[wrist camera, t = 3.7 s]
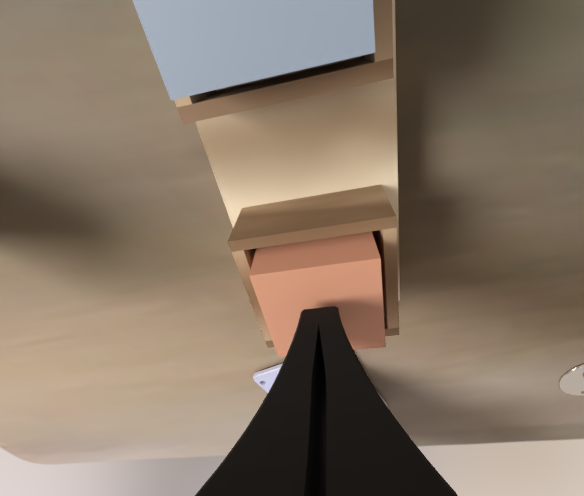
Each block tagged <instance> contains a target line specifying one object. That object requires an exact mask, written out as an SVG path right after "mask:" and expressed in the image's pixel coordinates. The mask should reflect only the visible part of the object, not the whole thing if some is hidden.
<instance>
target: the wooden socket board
mask: <svg viewBox="0 0 584 496" xmlns="http://www.w3.org/2000/svg"><path fill="white" fill-rule="evenodd" d="M373 13H374V34H375V53H371V54H367V55H363V56H358V57H354V58H350V59H346V60H341V61H337V62H333V63H328V64H324V65H320V66H316V67H311V68H307V69H303V70H298V71H294V72H290V73H286V74H281V75H277V76H273V77H269V78H264V79H260V80H256V81H251V82H247V83H243V84H239V85H234V86H230V87H226V88H221V89H217V90H213V91H209V92H204V93H200V94H196V95H192V96H187V97H183V98H179V99H174V100H175V103H176V106H177V108H178V111H179V114H180V116H181V119H182V122H183V124H187V123H191V122H196V125H197V128H198V131H199V133H200V136H201V139H202V142H203V145H204V147H205V150H206V153H207V156H208V159H209V161H210V164H211V167H212V170H213V173H214V176H215V178H216V181H217V184H218V187H219V190H220V192H221V195H222V198H223V201H224V204H225V206H226V209H227V212H228V215H229V218H230V220H231V223H232V226H233V231H232V233H231V235H230V238H229V240H228V243H229V246H230V249H231V251H232V254H233V257H234V259H235V262H236V264H237V267H238V270H239V272H240V275H241V278H242V280H243V283H244V286H245V288H246V291H247V294H248V296H249V299H250V302H251V304H252V307H253V309H254V312H255V315H256V317H257V320H258V323H259V325H260V328H261V331H262V333H263V336H264V339H265V341H266V344H267V346H268V347H275V346H274V344H273V341H272V338H271V335H270V333H269V330H268V327H267V324H266V321H265V319H264V316H263V313H262V310H261V307H260V305H259V302H258V299H257V296H256V294H255V291H254V288H253V285H252V282H251V280H250V277H249V274H250V270H251V267H252V263H253V259H254V255H255V251H256V248H262V247H269V246H276V245H282V244H289V243H296V242H303V241H310V240H316V239H323V238H330V237H337V236H343V235H350V234H357V233H364V232H371V231H372V234H373V237H374V240H375V243H376V246H377V249H378V252H379V255H380V258H381V274H382V291H383V308H384V326H385V336H392V335H399V309H398V301H400V270H399V211H398V152H397V93H396V34H395V0H373Z"/></svg>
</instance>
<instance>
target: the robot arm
mask: <svg viewBox="0 0 584 496" xmlns="http://www.w3.org/2000/svg"><path fill="white" fill-rule="evenodd" d="M253 379H254V381H255V382H256V383H257V384H259V385H260V386H261V387H262V388H263V389H264V390H265V391H266V392H267V393H268V394H267V396H266V398H265V399H264V401H263V403H262V405H261V406H260V408H259V410H258V411H257V413H256V414H255V416H254V418H253V419H252V421H251V422H250V424H249V425H248V427H247V429H246V430H245V432H244V433H243V434H242V436H241V437H240V439H239V440H238V441H237V443H236V444H235V446H234V447H233V448H232V450H231V451H230V452H229V454H228V455H227V457H226V458H225V459H224V461H223V462H222V463H221V464H220V466H219V467H218V469H217V470H216V471H215V472H214V473H213V474H212V476H211V477H210V478H209V479H208V481H207V482H206V483H205V484H204V485H203V487H202V488H201V489H200V490H199V491H198V493H197V494H196V495H195V496H457V494H456V492H455V491H454V490H453V489H452V488H451V487H450V485H449V484H448V483H447V482H446V481H445V480H444V479H443V478H442V476H441V475H440V474H439V473H438V472H437V471H436V470H435V468H434V467H433V466H432V465H431V463H430V462H429V461H428V460H427V459H426V457H425V456H424V455H423V454H422V452H421V451H420V450H419V449H418V447H417V446H416V445H415V444H414V443H413V441H412V440H411V439H410V437H409V436H408V435H407V433H406V432H405V431H404V429H403V428H402V427H401V425H400V424H399V423H398V421H397V420H396V419H395V417H394V416H393V415H392V413H391V412H390V410H389V409H388V405H387V403H386V402H385V401H384V399H383V398H382V397H381V396H380V394H379V393H378V392H377V391H376V389H375V388H374V386H373V384H372V383H371V381H370V380H369V378H368V376H367V374H366V373H365V371H364V369H363V367H362V366H361V364H360V362H359V360H358V358H357V356H356V354H355V352H354V350H353V348H352V346H351V344H350V342H349V340H348V337H347V335H346V333H345V330H344V327H343V325H342V322H341V318H340V314H339V309H338V307H336V306H331V307H322V308H313V309H304V310H303V311H302V312H301V315H300V319H299V322H298V325H297V329H296V332H295V334H294V337H293V340H292V343H291V345H290V348H289V350H288V353H287V355H286V357H285V360H284V362H283V363H282V364H279V365H276V366H273V367H271V368H268V369H265V370H262V371H259V372H256V373H255V374H254V377H253Z"/></svg>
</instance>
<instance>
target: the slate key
mask: <svg viewBox="0 0 584 496" xmlns="http://www.w3.org/2000/svg"><path fill="white" fill-rule="evenodd" d="M133 3H134V6H135V8H136V11H137V13H138V16H139V19H140V21H141V24H142V26H143V29H144V32H145V34H146V37H147V39H148V42H149V45H150V47H151V50H152V52H153V55H154V58H155V60H156V63H157V65H158V68H159V71H160V73H161V76H162V78H163V81H164V84H165V86H166V89H167V91H168V94H169V97H170V99H171V100H174V99H179V98H183V97H187V96H192V95H196V94H200V93H204V92H209V91H213V90H217V89H221V88H226V87H230V86H234V85H239V84H243V83H247V82H251V81H256V80H260V79H264V78H269V77H273V76H277V75H281V74H286V73H290V72H294V71H298V70H303V69H307V68H311V67H316V66H320V65H324V64H328V63H333V62H337V61H341V60H346V59H350V58H354V57H358V56H363V55H367V54H371V53H375V34H374V13H373V0H133Z"/></svg>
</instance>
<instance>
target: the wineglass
mask: <svg viewBox="0 0 584 496" xmlns="http://www.w3.org/2000/svg"><path fill="white" fill-rule="evenodd" d="M559 387H560V389H561V390H562V391H563V392H565V393H567V394H570V395H577V396H583V395H584V364H582V365H579V366H577V367H575V368H573V369H571V370H569V371H568V372H567V373H565V374H564V375H563V376H562V377H561V379H560V381H559Z"/></svg>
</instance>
